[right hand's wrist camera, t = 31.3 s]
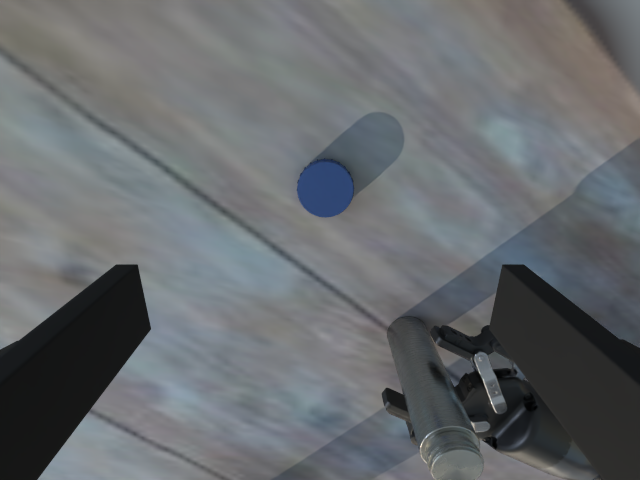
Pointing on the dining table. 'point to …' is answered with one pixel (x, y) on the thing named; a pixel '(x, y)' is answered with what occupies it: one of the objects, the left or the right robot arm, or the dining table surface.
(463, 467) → the jar
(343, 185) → the lid
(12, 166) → the dining table surface
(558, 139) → the dining table surface
